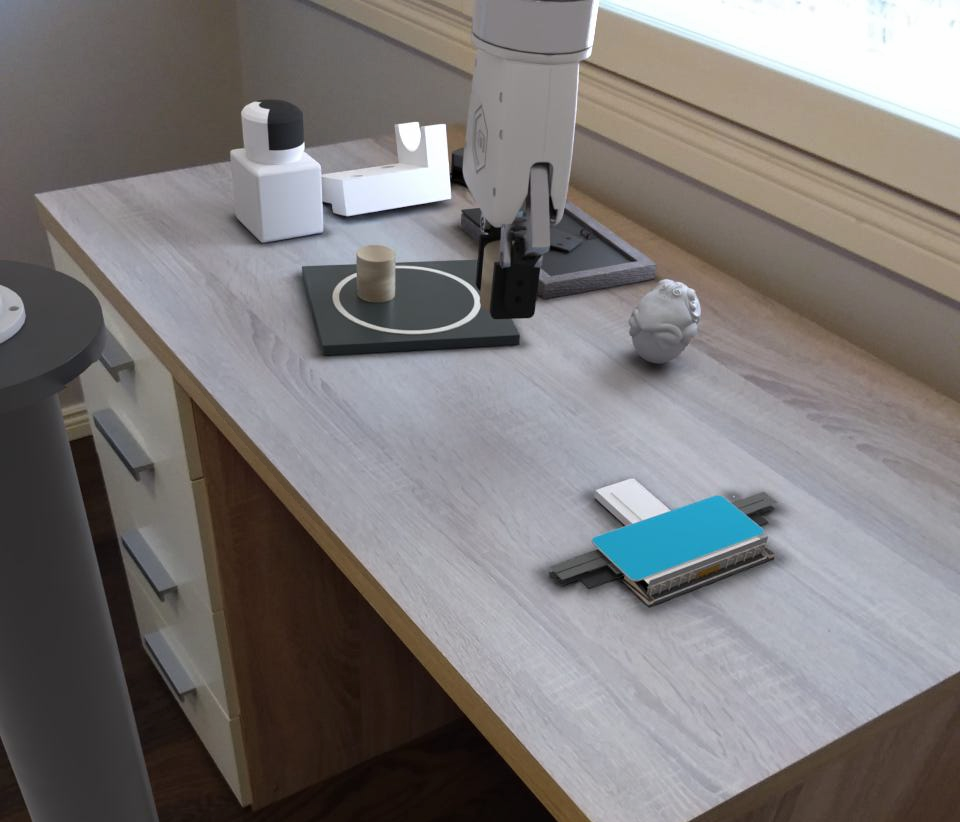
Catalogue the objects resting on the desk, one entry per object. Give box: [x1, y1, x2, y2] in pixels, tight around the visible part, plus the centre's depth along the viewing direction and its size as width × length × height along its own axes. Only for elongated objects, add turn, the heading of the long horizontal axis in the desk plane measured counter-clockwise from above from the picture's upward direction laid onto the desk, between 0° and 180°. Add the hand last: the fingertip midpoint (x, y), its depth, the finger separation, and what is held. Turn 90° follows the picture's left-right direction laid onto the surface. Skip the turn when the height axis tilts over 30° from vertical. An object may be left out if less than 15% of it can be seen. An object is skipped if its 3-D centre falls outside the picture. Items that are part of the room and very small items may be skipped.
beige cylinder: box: [480, 240, 514, 312], centre depth 76 cm, size 4×4×4 cm
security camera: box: [229, 98, 324, 244], centre depth 108 cm, size 7×7×12 cm
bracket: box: [321, 121, 452, 217], centre depth 116 cm, size 13×7×8 cm, turn 121°
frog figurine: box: [628, 278, 702, 364], centre depth 94 cm, size 6×7×7 cm
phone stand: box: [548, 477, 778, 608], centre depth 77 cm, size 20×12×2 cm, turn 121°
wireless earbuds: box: [449, 147, 467, 186], centre depth 123 cm, size 5×7×3 cm, turn 57°
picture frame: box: [460, 198, 658, 300], centre depth 111 cm, size 13×2×18 cm
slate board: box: [301, 258, 521, 356], centre depth 100 cm, size 18×16×1 cm
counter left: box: [355, 244, 397, 303], centre depth 98 cm, size 4×4×4 cm
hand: (504, 300), depth 77 cm, fingers closed on beige cylinder, 3 cm apart
